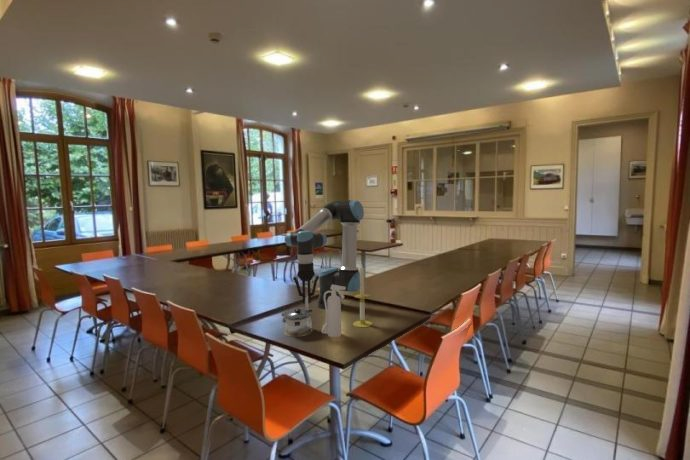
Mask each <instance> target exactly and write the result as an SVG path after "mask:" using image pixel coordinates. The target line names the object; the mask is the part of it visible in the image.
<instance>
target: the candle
mask: <svg viewBox="0 0 690 460" xmlns="http://www.w3.org/2000/svg"><path fill="white" fill-rule="evenodd" d="M359 272H360V288H359V293H355V294H354V295H353V297H354V298H355V299H359V320H356V321H354V322H353V323H352V325H353V326H354V327H356V328H370V327H372V325H373V323H372V322H371V321H369V320H366V310H365V308H366V307H365V306H366V305H365V304H366V303H365V299H367V298H368V299H369V298H370V297H371V295H370V294H369V293H365V269H364V266H363V263H361V265H360V267H359Z"/></svg>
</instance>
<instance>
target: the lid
mask: <svg viewBox="0 0 690 460" xmlns="http://www.w3.org/2000/svg"><path fill="white" fill-rule="evenodd" d="M312 314H313V309H312V308H309V310H305V307H294V308H291V309H287V310H286V311H283V312H282V313H281V317H283V318H284V317H285V318H288V319H299V318H304V317H307V316H309V315H311V316H312Z"/></svg>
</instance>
